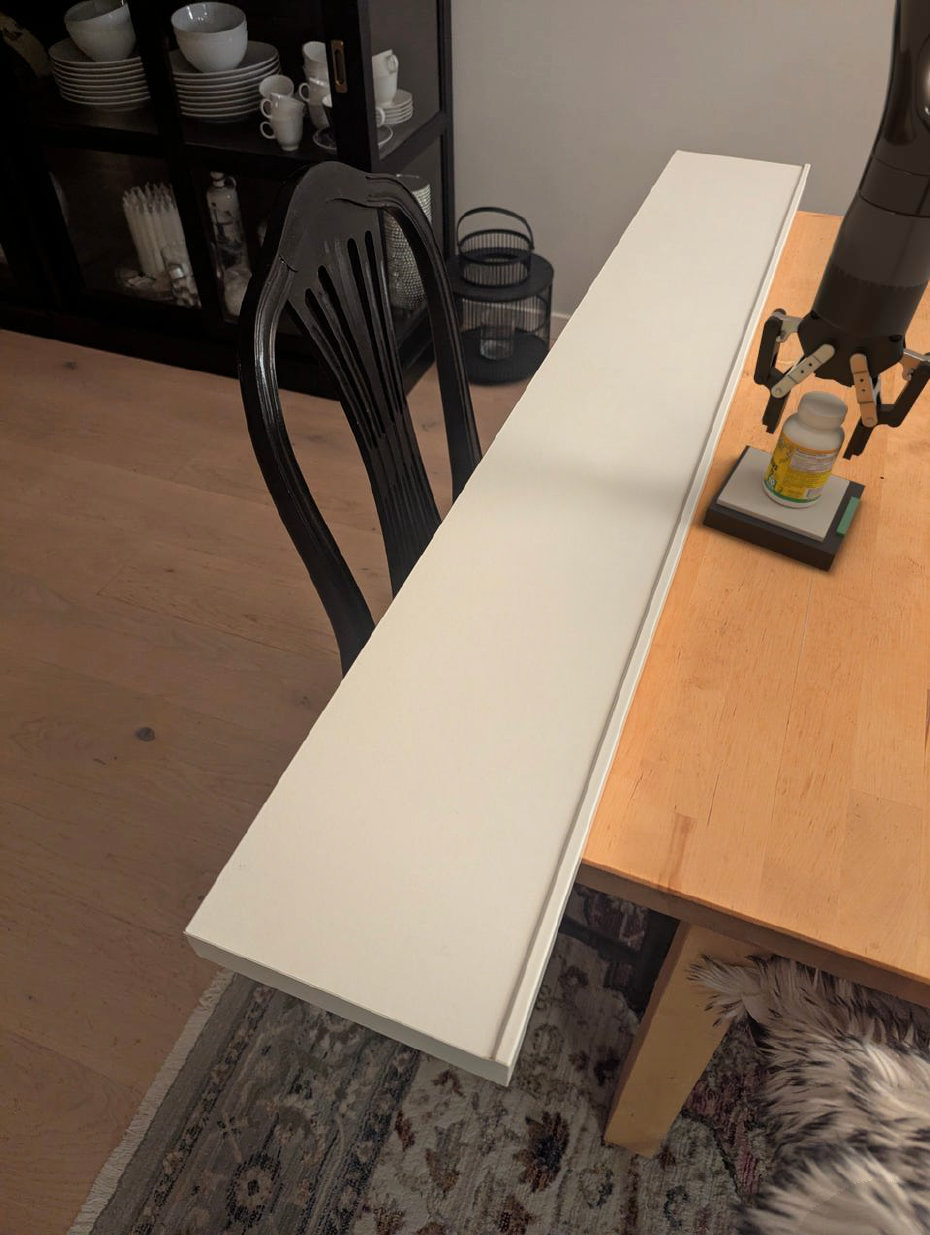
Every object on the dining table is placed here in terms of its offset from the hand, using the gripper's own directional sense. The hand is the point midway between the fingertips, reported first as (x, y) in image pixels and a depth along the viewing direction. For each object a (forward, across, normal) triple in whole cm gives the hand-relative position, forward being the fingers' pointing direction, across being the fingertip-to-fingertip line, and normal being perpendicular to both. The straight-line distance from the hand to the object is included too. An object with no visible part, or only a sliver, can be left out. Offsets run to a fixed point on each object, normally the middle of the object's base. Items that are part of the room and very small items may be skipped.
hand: (809, 441), depth 79 cm
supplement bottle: (+6, 0, 0) cm, 6 cm away
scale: (+8, 0, 0) cm, 8 cm away
